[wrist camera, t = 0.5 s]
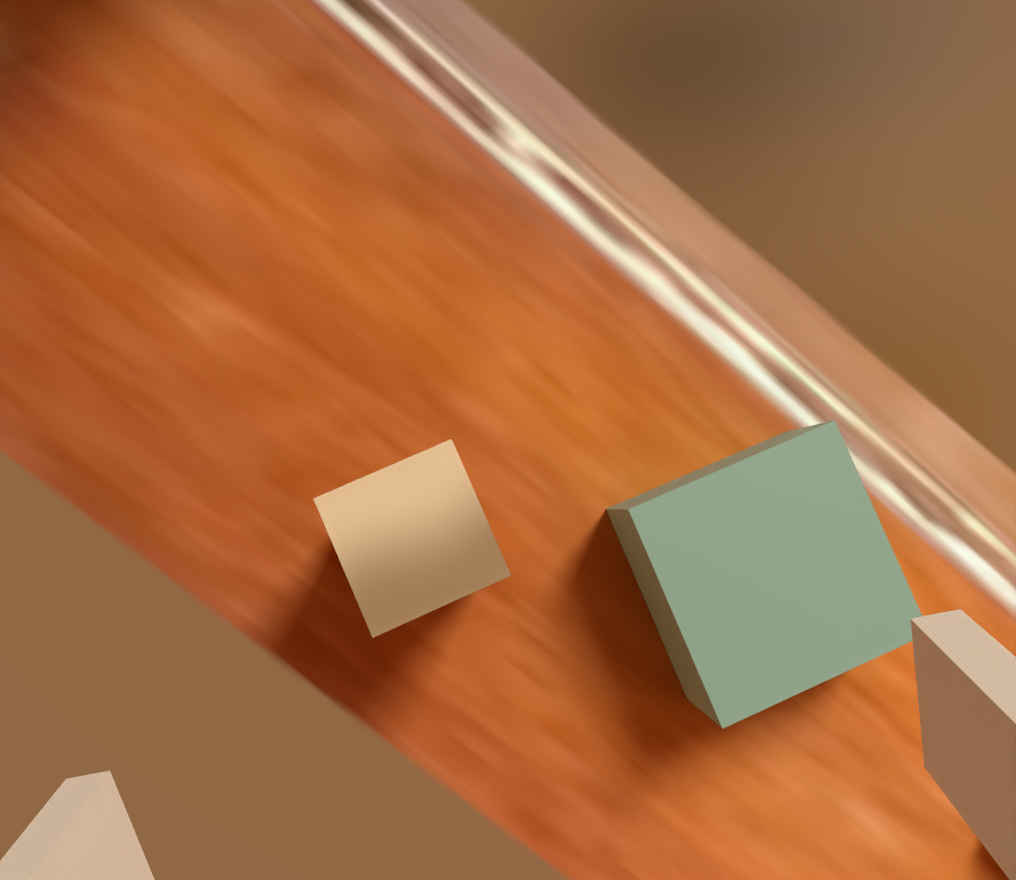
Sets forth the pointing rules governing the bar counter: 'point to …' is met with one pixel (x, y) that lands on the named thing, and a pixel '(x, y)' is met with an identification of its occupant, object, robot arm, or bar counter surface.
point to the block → (412, 537)
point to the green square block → (766, 572)
